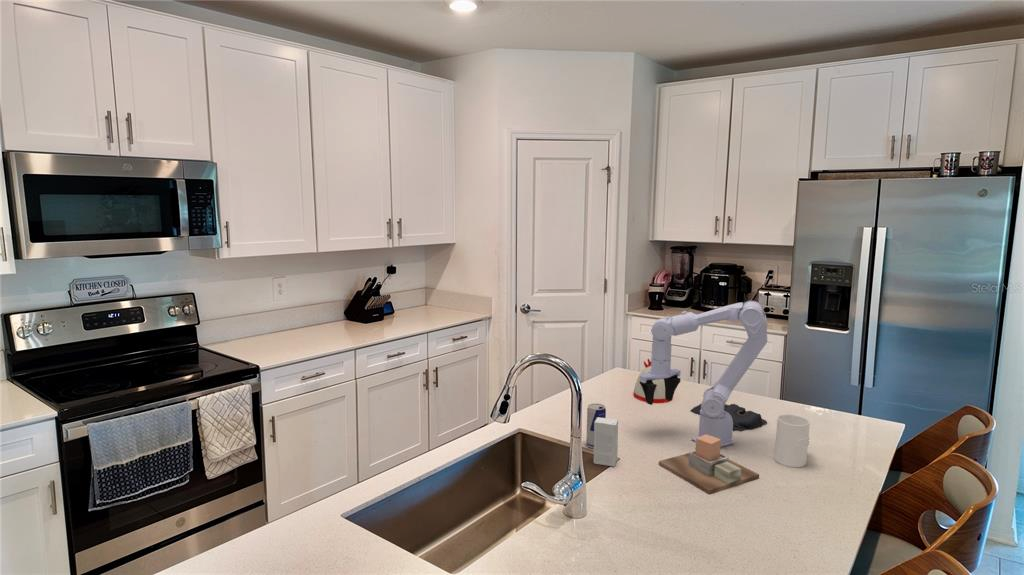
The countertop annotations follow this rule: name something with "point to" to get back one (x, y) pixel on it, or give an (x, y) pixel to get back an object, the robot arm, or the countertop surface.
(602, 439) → the skincare box
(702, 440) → the terracotta block
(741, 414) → the dark slate chunk
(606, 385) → the countertop surface
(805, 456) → the mug
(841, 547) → the countertop surface
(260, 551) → the countertop surface
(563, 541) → the countertop surface
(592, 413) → the energy drink
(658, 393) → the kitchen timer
